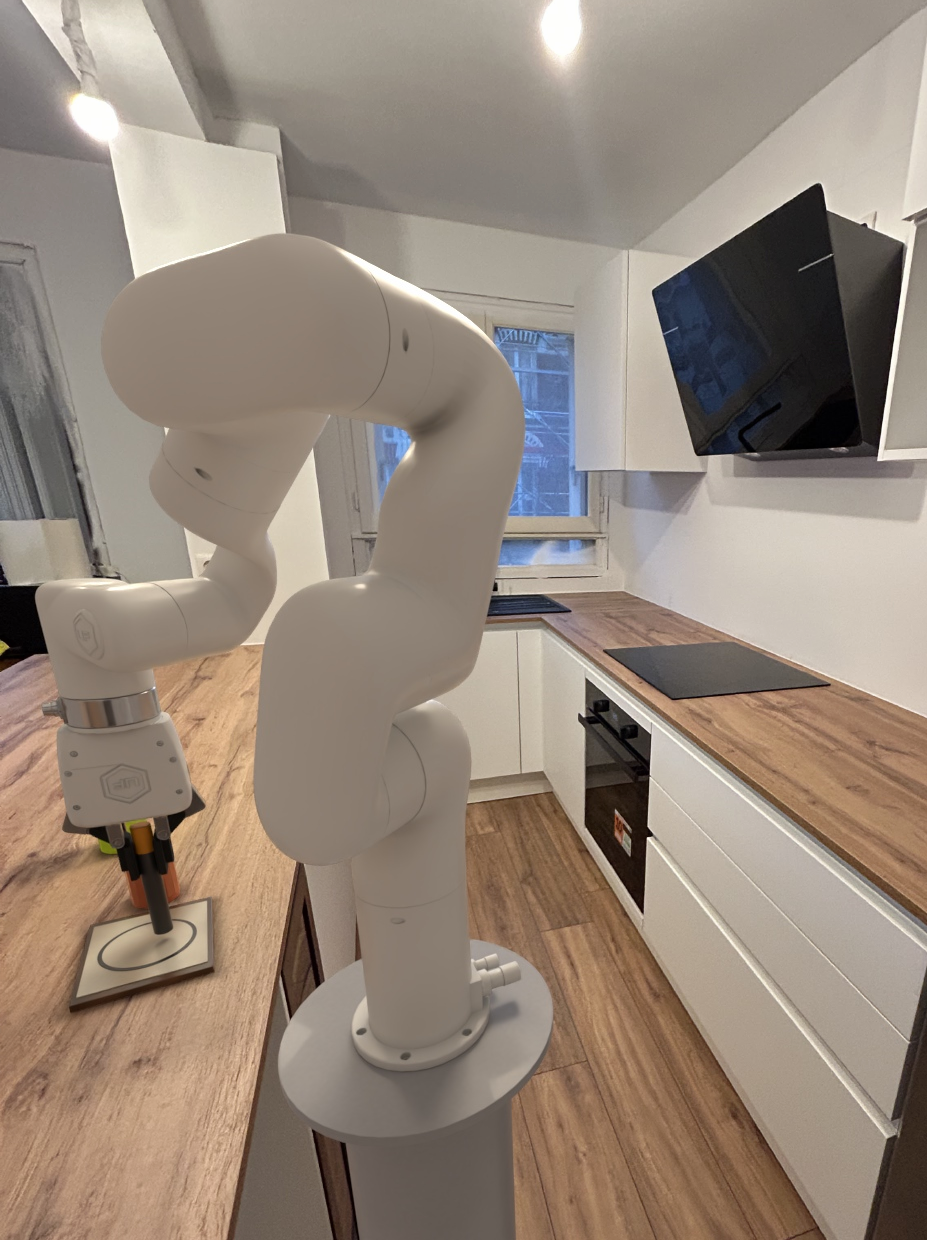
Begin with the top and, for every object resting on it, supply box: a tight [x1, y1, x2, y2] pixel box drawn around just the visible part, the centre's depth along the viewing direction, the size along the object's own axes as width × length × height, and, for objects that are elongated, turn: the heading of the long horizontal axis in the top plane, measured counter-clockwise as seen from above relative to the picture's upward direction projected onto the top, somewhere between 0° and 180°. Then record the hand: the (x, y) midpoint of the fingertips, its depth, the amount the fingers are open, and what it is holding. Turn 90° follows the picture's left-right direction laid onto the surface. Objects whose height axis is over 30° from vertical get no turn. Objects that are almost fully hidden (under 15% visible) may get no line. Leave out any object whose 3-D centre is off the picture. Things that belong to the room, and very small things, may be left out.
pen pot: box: [123, 861, 181, 909], centre depth 80 cm, size 5×5×7 cm
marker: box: [129, 820, 173, 935], centre depth 69 cm, size 2×2×13 cm
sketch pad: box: [68, 896, 216, 1014], centre depth 71 cm, size 12×15×1 cm
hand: (150, 870), depth 69 cm, fingers closed on marker, 1 cm apart
